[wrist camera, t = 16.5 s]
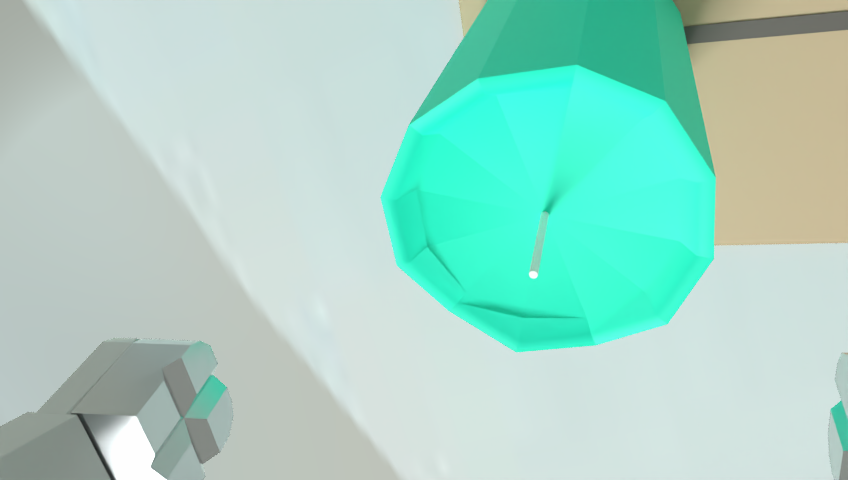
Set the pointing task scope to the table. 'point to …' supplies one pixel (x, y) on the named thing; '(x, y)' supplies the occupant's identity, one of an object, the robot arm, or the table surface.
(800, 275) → the table surface
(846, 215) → the tan flat wooden board
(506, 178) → the candle
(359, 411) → the table surface
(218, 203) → the table surface
